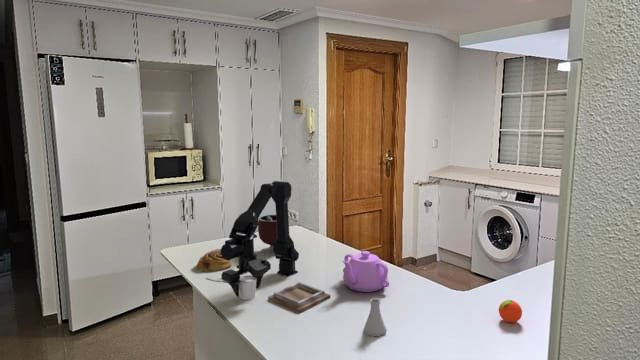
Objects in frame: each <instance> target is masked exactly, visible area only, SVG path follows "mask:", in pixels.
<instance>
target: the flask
mask: <svg viewBox="0 0 640 360" xmlns="http://www.w3.org/2000/svg"><path fill="white" fill-rule="evenodd" d="M369 301H370V311H369V314H368V317H367V320H366V322H365V324H364V328H363V332H364V333H365V334H366V335H367V336H372V337H373V336H374V337H379V336H384V335H386V334H387V327H386V325H385V322H384V320H383V316H382V313H381V309H380V304H381V300H380V299H379V298H371V299H370V300H369Z"/></svg>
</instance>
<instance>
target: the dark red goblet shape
mask: <svg viewBox="0 0 640 360" xmlns="http://www.w3.org/2000/svg"><path fill="white" fill-rule="evenodd" d="M258 223H259V224H258V226H257V234H258V237H259V239H260V240H261V242H262V243H263V244H266V245H269V246H268V247H264V248H262V249H261V250H260V254H261V255H262V256H265V257H266V256H267V257H275V254H274V251H273V242H275V241H276V239H277V221H276V214H265V215H262V216H261V215H260V216H259V218H258Z"/></svg>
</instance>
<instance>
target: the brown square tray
mask: <svg viewBox="0 0 640 360" xmlns="http://www.w3.org/2000/svg"><path fill="white" fill-rule="evenodd" d="M329 299H331V294H328V293H326V292H325V290H322V289H320V288H317V287H314V286H312V285H308V284H306V283H302V282H301V281H299V282H296V283H294V284H291V285H289V286H287V287H284V288H282V289H279V290H276V291H275V292H273V294H272V295H269V296H268V297H267V300H268V301H270V302H272V303H274V304H277V305H279V306H281V307H284V308H286V309H288V310H290V311H293V312H296V313H299V314H301V313H303V312H305V311H307V310H309V309H311V308H313V307H315V306H317V305H319V304H322V303H323V302H326V301H328V300H329Z"/></svg>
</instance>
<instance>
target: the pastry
mask: <svg viewBox="0 0 640 360" xmlns="http://www.w3.org/2000/svg"><path fill="white" fill-rule="evenodd" d="M231 267H232V260H225V259H224V258H223V257H222V255H221V248H215V249H212V250H210V251H208V252H206V253H205V254H203V255H202V256H201V257H200V258H199V260H198V262H197V264H196V270H198V271H201V272H204V273H206V272H222V271H223V272H224V271H227V270H230V269H231Z"/></svg>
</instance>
